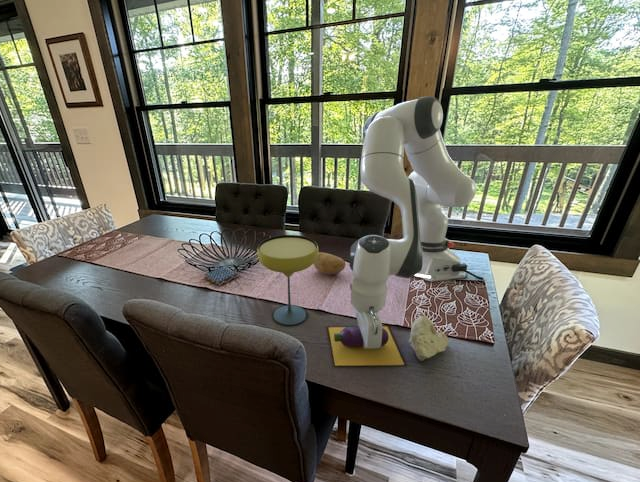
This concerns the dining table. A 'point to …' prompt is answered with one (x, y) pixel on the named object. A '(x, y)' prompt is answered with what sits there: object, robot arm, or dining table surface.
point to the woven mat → (221, 275)
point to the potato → (329, 263)
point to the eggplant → (355, 337)
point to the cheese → (426, 339)
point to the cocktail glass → (288, 267)
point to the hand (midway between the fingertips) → (363, 338)
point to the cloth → (364, 352)
